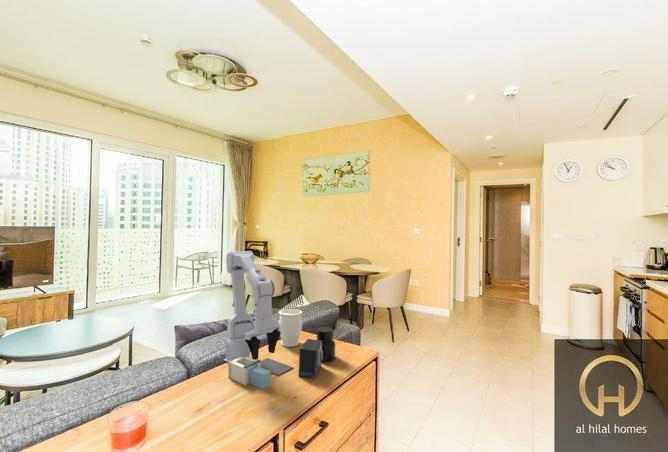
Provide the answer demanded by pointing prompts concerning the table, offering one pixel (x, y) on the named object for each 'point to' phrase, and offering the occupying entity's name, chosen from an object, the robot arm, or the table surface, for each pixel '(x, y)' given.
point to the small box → (310, 358)
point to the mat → (275, 366)
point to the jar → (290, 326)
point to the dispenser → (241, 369)
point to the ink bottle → (326, 343)
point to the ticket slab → (259, 377)
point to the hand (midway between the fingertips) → (263, 355)
